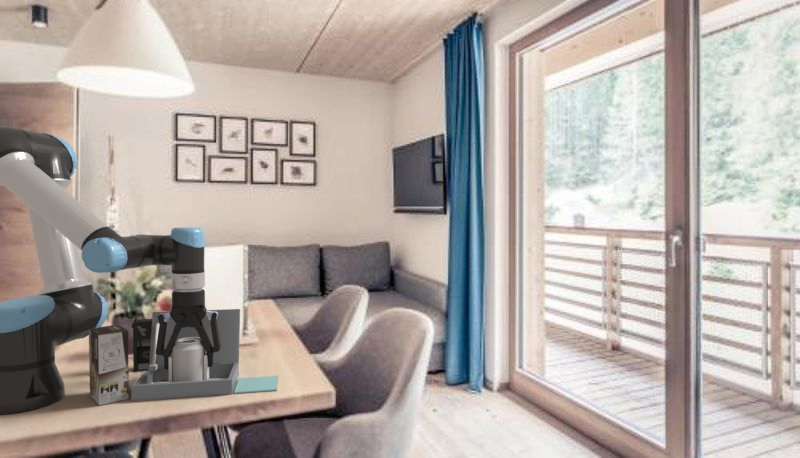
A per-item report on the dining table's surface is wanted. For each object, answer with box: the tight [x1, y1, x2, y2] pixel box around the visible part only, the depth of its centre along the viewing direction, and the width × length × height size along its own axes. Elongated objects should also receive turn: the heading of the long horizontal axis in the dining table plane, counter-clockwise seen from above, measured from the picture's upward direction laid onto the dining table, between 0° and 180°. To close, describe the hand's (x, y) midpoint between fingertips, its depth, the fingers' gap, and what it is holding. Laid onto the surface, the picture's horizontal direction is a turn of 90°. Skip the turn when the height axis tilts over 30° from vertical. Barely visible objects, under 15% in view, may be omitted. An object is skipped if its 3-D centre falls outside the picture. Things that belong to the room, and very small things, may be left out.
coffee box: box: [88, 324, 130, 406], centre depth 112 cm, size 9×6×16 cm
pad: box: [233, 375, 279, 395], centre depth 120 cm, size 10×10×1 cm
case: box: [131, 308, 241, 402], centre depth 120 cm, size 22×18×17 cm
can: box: [172, 337, 205, 382], centre depth 118 cm, size 8×8×12 cm
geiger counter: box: [131, 314, 159, 373], centre depth 133 cm, size 10×4×15 cm, turn 110°
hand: (189, 380), depth 118 cm, fingers closed on can, 7 cm apart
